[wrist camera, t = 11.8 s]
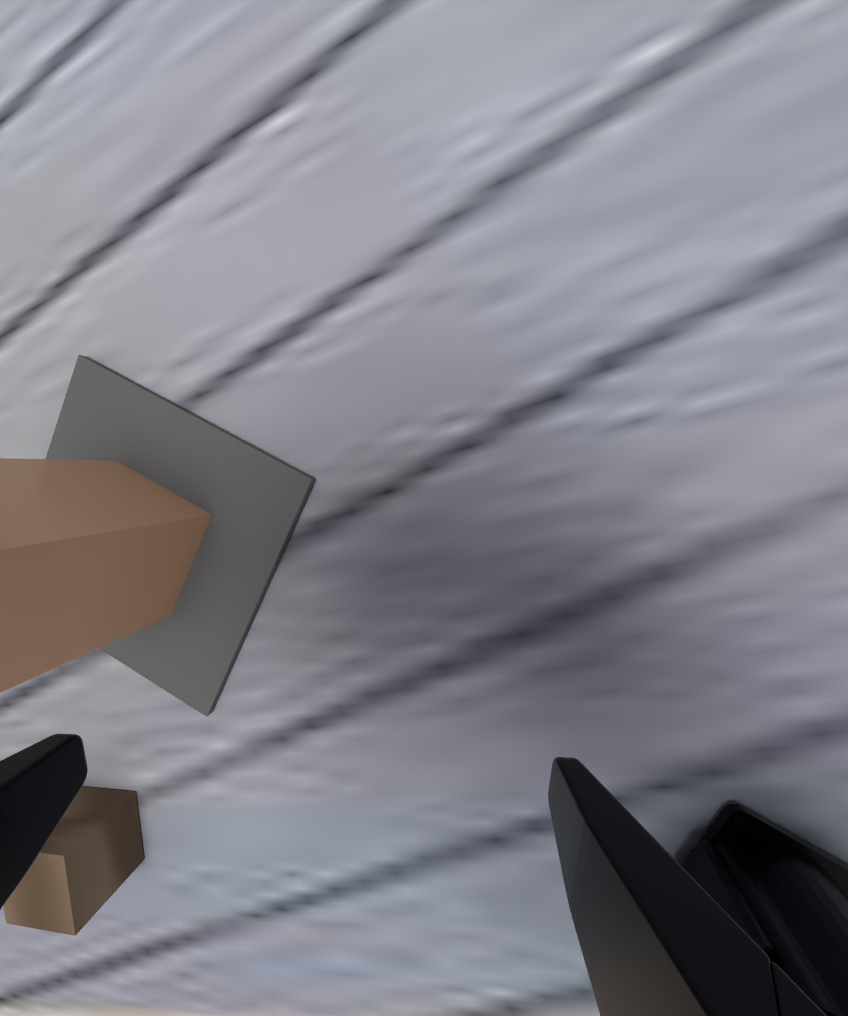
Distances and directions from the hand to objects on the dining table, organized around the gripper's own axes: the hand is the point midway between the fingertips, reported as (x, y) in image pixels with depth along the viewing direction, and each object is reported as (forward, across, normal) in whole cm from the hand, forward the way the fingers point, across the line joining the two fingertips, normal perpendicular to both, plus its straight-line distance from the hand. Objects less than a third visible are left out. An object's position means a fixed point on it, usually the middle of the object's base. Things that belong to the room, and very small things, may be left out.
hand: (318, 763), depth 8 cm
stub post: (+12, +16, +18) cm, 27 cm away
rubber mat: (+14, +13, +1) cm, 19 cm away
